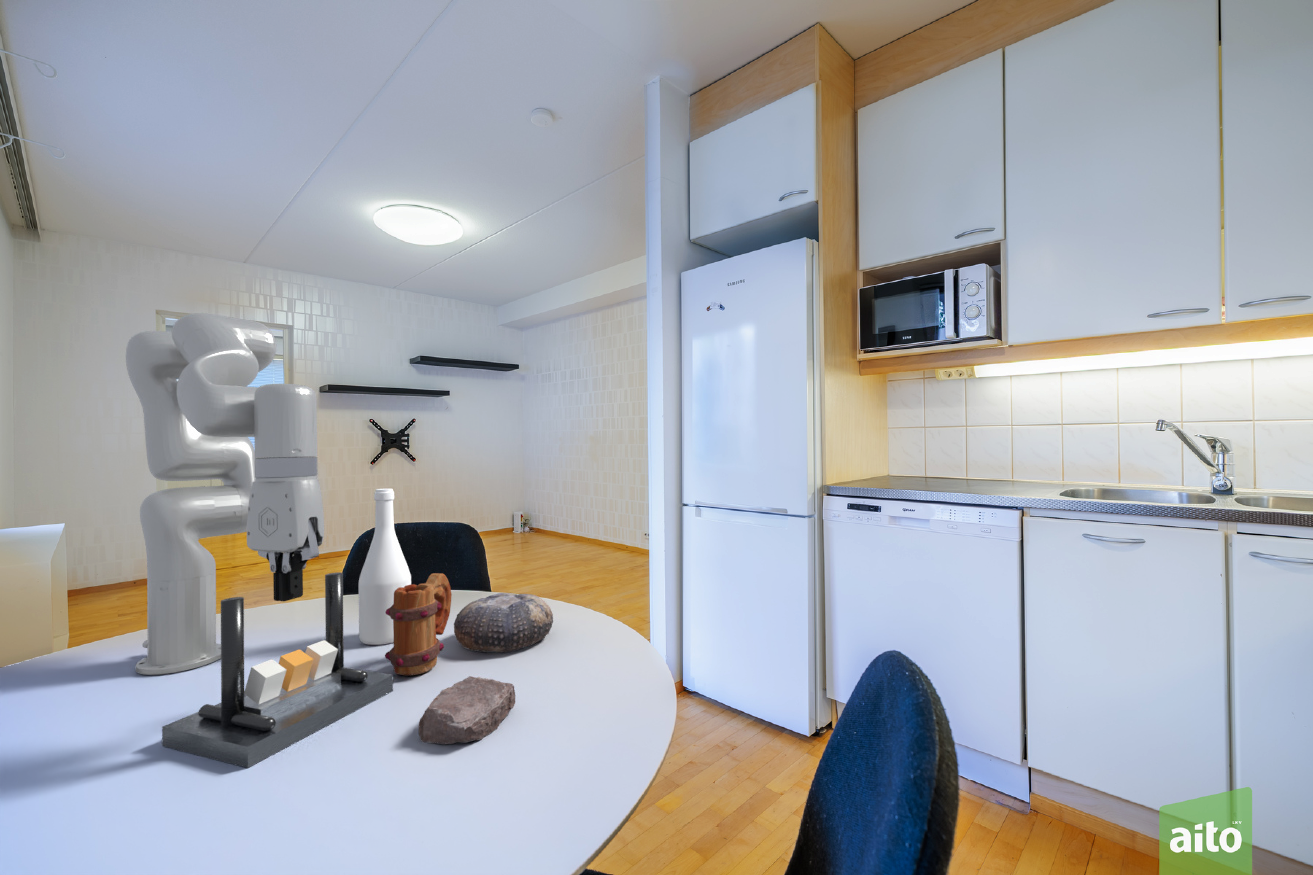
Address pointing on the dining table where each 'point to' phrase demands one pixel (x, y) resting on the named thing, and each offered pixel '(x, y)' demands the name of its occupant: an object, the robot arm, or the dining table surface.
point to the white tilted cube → (265, 681)
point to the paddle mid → (295, 669)
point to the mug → (419, 624)
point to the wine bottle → (381, 575)
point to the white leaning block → (321, 659)
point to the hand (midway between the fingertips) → (288, 598)
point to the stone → (466, 711)
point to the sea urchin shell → (503, 622)
